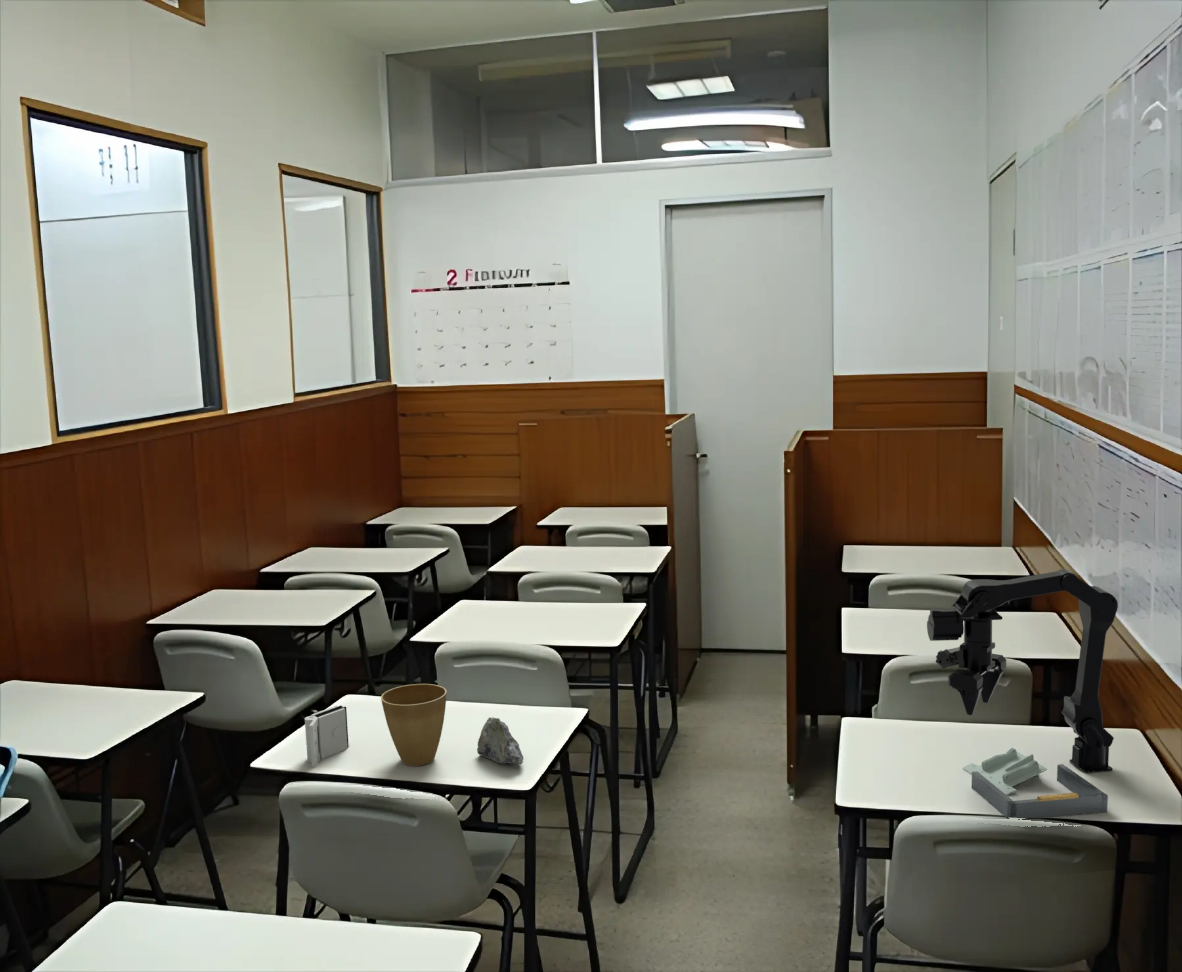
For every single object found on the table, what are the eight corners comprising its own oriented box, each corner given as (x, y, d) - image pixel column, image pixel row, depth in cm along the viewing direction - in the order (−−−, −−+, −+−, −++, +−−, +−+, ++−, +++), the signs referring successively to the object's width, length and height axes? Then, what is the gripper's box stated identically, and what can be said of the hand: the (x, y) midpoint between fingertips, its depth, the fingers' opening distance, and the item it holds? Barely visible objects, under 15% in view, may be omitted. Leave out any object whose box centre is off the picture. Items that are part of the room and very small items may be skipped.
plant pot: (448, 745, 263) (445, 680, 260) (450, 769, 248) (447, 701, 246) (385, 750, 260) (381, 685, 258) (383, 775, 246) (379, 706, 244)
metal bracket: (1010, 738, 243) (1055, 763, 229) (1015, 761, 245) (1061, 787, 230) (955, 763, 240) (997, 790, 226) (961, 786, 242) (1004, 815, 227)
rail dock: (1062, 779, 234) (1062, 761, 233) (1107, 812, 218) (1108, 792, 218) (971, 787, 231) (971, 769, 231) (1010, 821, 215) (1011, 801, 215)
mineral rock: (523, 771, 246) (522, 728, 245) (475, 774, 246) (473, 731, 244) (523, 750, 259) (522, 708, 257) (477, 752, 258) (476, 711, 257)
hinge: (337, 766, 252) (334, 725, 250) (301, 767, 252) (299, 726, 250) (349, 745, 265) (347, 705, 263) (315, 746, 265) (313, 706, 263)
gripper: (957, 624, 250) (957, 690, 252) (924, 644, 236) (924, 714, 238) (1007, 630, 243) (1006, 698, 245) (976, 652, 228) (975, 724, 231)
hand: (977, 708), depth 240 cm, fingers open, 9 cm apart
